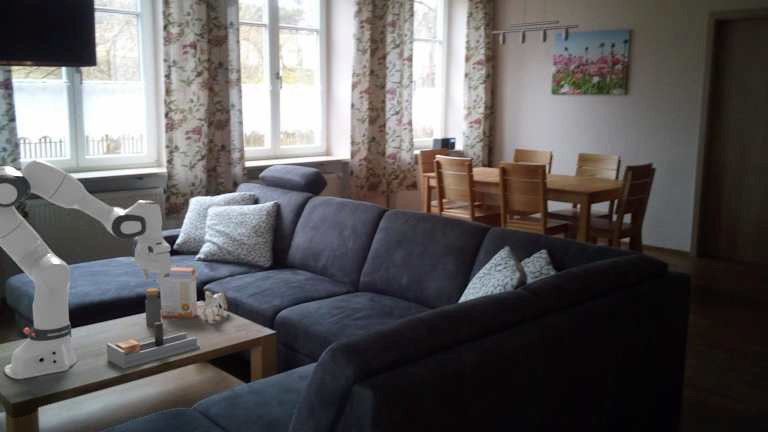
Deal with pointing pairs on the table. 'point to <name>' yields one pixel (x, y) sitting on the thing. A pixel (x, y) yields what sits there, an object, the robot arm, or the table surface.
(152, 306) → the bottle
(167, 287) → the cracker box
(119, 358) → the board
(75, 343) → the table surface
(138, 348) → the block and post stand
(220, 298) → the unicorn figurine
